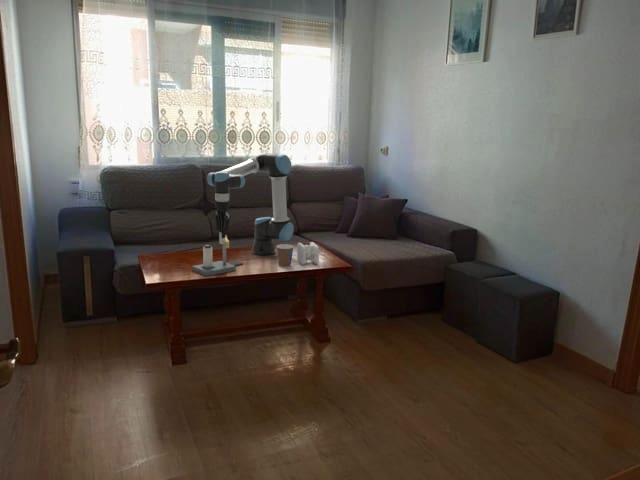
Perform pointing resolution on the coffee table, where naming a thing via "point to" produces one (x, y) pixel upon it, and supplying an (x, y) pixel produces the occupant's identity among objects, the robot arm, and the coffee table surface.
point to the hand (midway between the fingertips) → (222, 243)
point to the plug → (207, 257)
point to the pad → (235, 263)
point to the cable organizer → (308, 253)
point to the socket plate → (215, 266)
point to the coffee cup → (284, 254)
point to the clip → (226, 242)
